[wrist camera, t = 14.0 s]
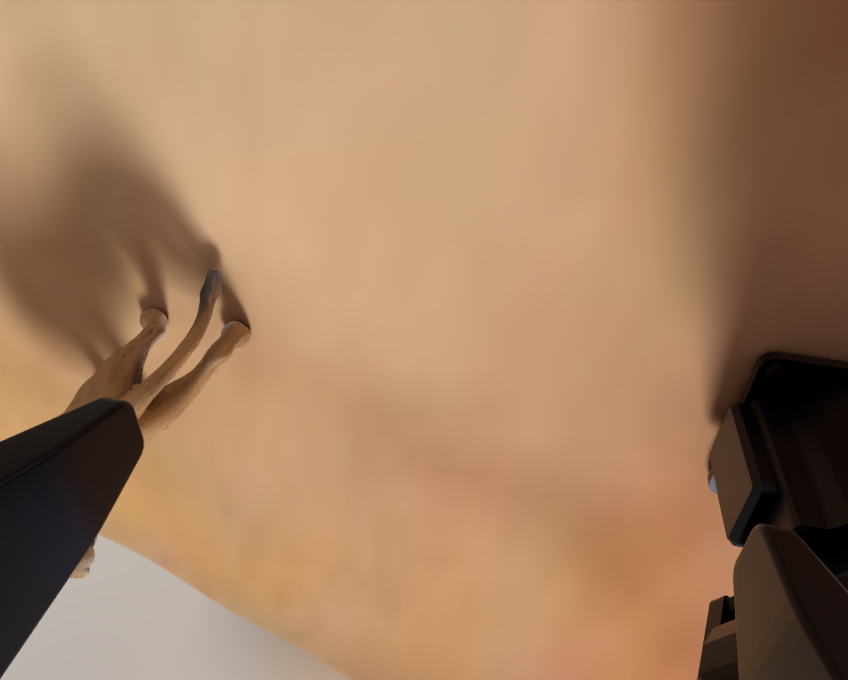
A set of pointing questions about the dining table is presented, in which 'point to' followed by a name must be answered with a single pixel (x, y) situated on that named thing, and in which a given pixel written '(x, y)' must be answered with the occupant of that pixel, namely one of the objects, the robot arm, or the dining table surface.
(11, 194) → the dining table surface
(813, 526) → the robot arm
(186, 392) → the lion figurine
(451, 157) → the dining table surface
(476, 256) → the dining table surface
